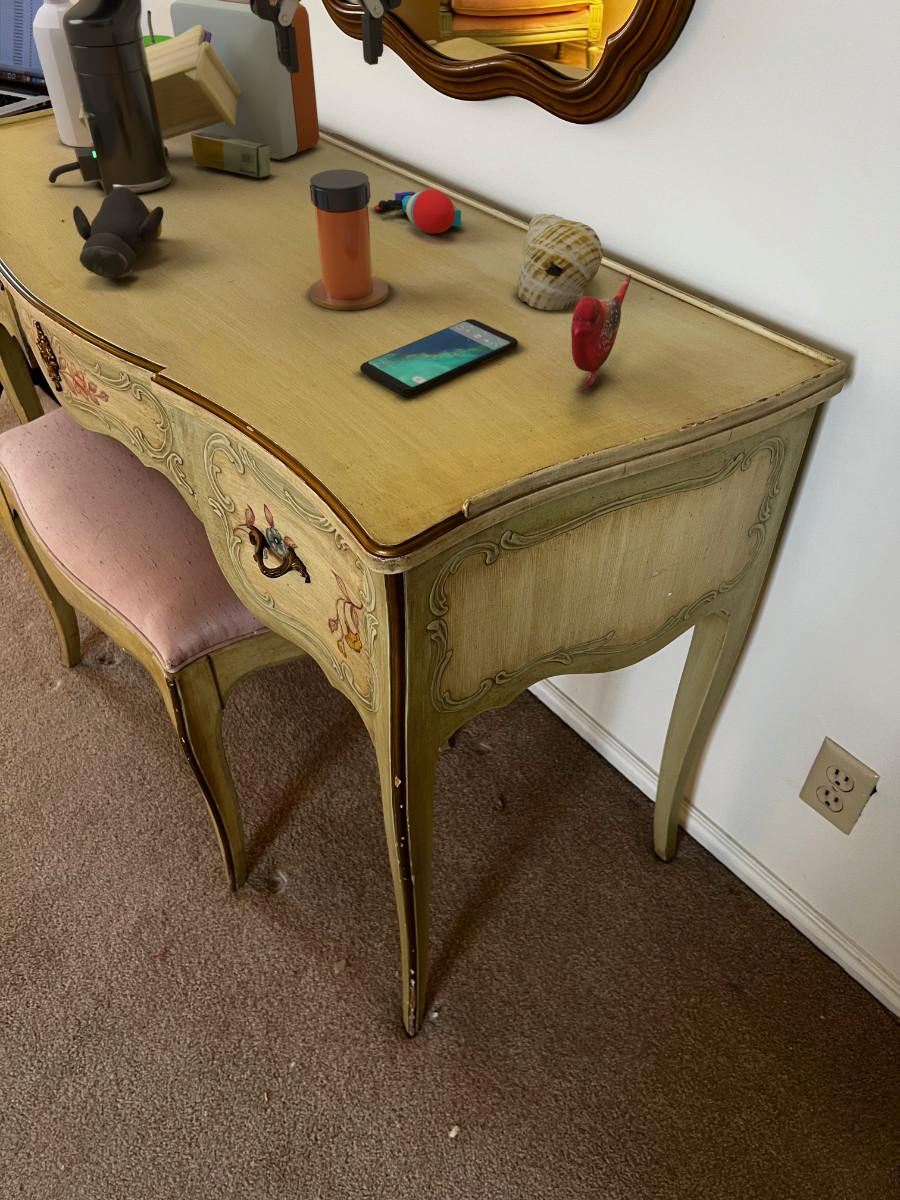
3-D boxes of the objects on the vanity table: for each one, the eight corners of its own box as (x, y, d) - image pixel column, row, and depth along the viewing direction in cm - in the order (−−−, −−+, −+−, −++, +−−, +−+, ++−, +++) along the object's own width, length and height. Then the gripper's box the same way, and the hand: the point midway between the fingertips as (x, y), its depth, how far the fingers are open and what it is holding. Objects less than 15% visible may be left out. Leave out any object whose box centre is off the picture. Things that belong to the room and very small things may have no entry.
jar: (332, 303, 97) (322, 195, 90) (316, 283, 101) (305, 178, 94) (380, 294, 99) (374, 187, 91) (363, 275, 102) (356, 171, 95)
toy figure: (369, 223, 120) (421, 241, 109) (367, 181, 117) (420, 196, 106) (421, 217, 123) (477, 235, 112) (420, 177, 120) (477, 190, 109)
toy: (100, 238, 112) (60, 289, 101) (84, 176, 108) (40, 223, 97) (183, 238, 112) (152, 290, 101) (172, 176, 108) (137, 223, 96)
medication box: (272, 175, 129) (271, 144, 127) (260, 179, 127) (258, 147, 125) (204, 160, 133) (201, 130, 131) (191, 163, 131) (188, 132, 129)
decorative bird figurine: (551, 415, 82) (560, 306, 75) (609, 331, 94) (621, 231, 87) (583, 421, 81) (595, 313, 74) (637, 336, 93) (651, 236, 86)
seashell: (551, 315, 95) (527, 213, 91) (507, 322, 103) (484, 230, 100) (631, 289, 98) (611, 190, 95) (582, 299, 106) (562, 208, 103)
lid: (322, 214, 91) (320, 191, 89) (305, 196, 95) (302, 173, 93) (378, 206, 93) (376, 183, 91) (358, 188, 97) (357, 166, 95)
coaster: (324, 316, 96) (324, 310, 96) (301, 285, 102) (300, 280, 102) (399, 302, 99) (399, 296, 98) (372, 272, 104) (372, 267, 104)
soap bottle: (45, 143, 141) (-8, -46, 125) (92, 128, 147) (48, -55, 131) (84, 152, 137) (35, -41, 121) (131, 136, 143) (91, -50, 127)
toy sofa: (240, 127, 128) (245, 71, 131) (205, 76, 120) (210, 18, 124) (114, 167, 134) (121, 113, 138) (73, 121, 126) (81, 65, 130)
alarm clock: (322, 147, 138) (308, -16, 125) (284, 162, 133) (265, -6, 119) (230, 128, 146) (207, -28, 132) (190, 142, 140) (162, -19, 127)
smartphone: (521, 340, 90) (405, 392, 83) (521, 347, 91) (406, 399, 83) (470, 316, 94) (355, 364, 87) (470, 323, 95) (356, 372, 87)
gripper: (380, -168, 79) (389, 51, 90) (215, -163, 75) (246, 66, 86) (413, -163, 74) (418, 68, 85) (238, -158, 70) (267, 85, 81)
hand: (332, 67), depth 86 cm, fingers open, 7 cm apart
